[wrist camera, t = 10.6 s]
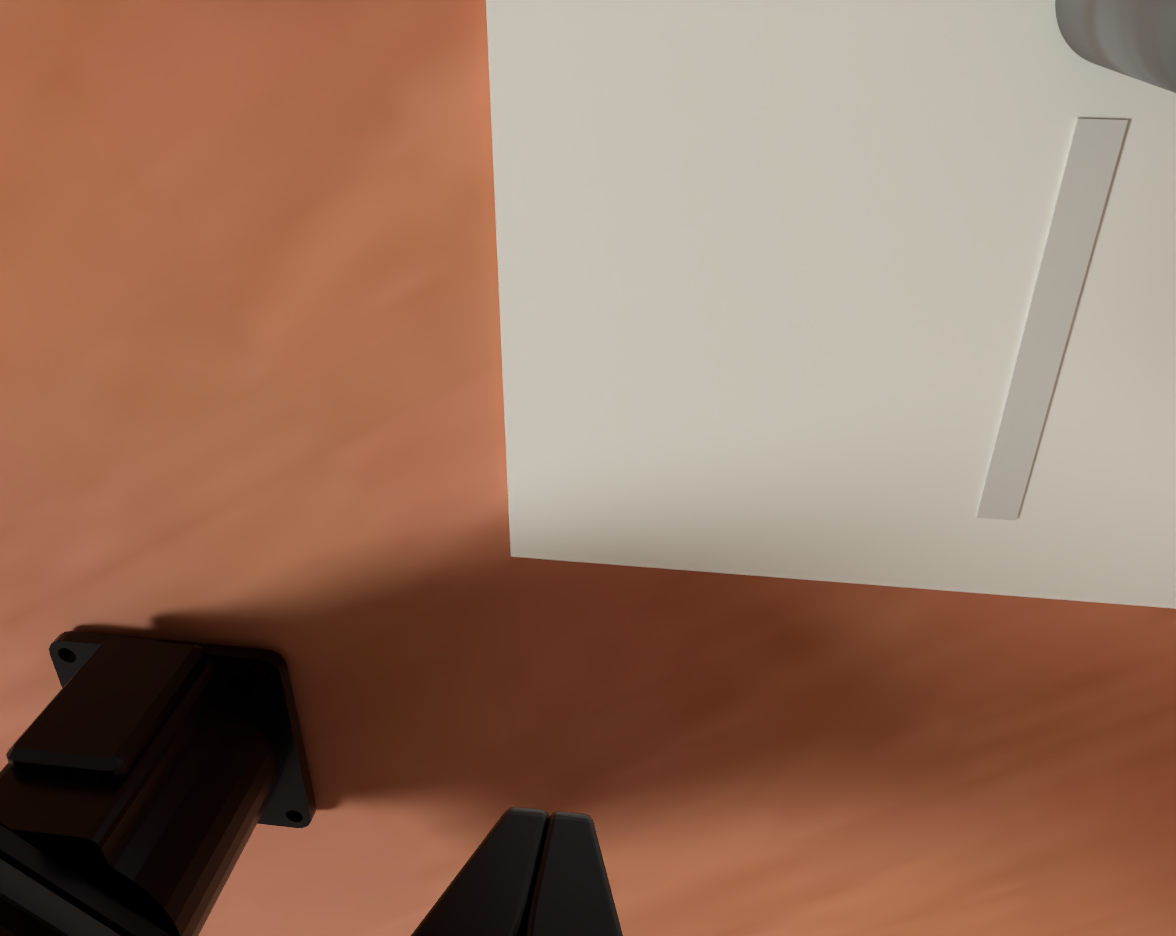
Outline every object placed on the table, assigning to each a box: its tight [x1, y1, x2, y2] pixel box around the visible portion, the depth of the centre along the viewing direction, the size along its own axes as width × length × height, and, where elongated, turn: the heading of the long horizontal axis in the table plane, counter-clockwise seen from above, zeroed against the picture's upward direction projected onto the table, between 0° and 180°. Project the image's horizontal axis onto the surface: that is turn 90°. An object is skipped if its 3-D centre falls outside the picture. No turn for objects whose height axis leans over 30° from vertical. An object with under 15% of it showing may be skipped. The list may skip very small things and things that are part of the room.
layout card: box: [486, 0, 1176, 609], centre depth 15 cm, size 22×19×1 cm
